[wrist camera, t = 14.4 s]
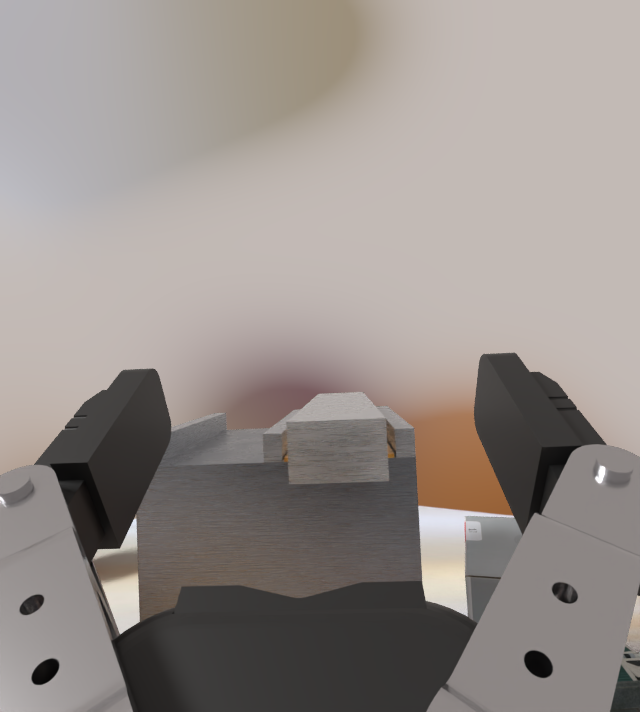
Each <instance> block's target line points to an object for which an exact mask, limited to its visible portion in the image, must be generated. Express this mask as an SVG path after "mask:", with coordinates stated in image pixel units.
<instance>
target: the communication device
mask: <svg viewBox="0 0 640 712" xmlns="http://www.w3.org/2000/svg"><path fill="white" fill-rule="evenodd" d="M610 712H640V652H638V653H636V652H635V651H634V650H632V649H631V648H630V647H628V646H627V645H625V649H624V653H623V658H622V662H621V666H620V671H619V675H618V679H617V684H616V688H615V692H614V696H613V701H612V705H611V709H610Z"/></svg>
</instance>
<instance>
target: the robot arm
mask: <svg viewBox="0 0 640 712" xmlns="http://www.w3.org/2000/svg"><path fill="white" fill-rule="evenodd" d="M474 419H475V426H476V430H477V433H478V435H479V438H480V440H481V442H482V445H483V447H484V449H485V451H486V454H487V456H488V458H489V461H490V463H491V465H492V467H493V469H494V472H495V474H496V476H497V478H498V481H499V483H500V485H501V488H502V490H503V492H504V494H505V497H506V499H507V501H508V503H509V506H510V508H511V511H512V513H513V515H514V517H515V520H516V522H517V524H518V526H519V529H520V531H521V533H522V538H521V539H520V541H519V543H518V545H517V547H516V549H515V551H514V553H513V555H512V557H511V559H510V561H509V563H508V565H507V567H506V569H505V571H504V573H503V575H502V577H501V579H500V581H499V583H498V585H497V587H496V589H495V591H494V593H493V595H492V597H491V598H490V600H489V602H488V604H487V606H486V608H485V610H484V612H483V614H482V616H481V618H480V620H479V622H478V623H477V622H475V621H474V620H472V619H470V618H469V617H467V616H465V615H463V614H461V613H459V612H457V611H455V610H453V609H450V608H448V607H445V606H442V605H439V604H436V603H432V602H428V601H425V596H424V590H423V585H422V581H395V582H361V583H357V584H353V585H350V586H346V587H342V588H338V589H335V590H331V591H327V592H323V593H320V594H316V595H312V596H308V597H304V598H294V597H289V596H285V595H280V594H276V593H272V592H267V591H263V590H258V589H254V588H250V587H245V586H241V585H227V586H185V587H181V590H180V594H179V597H178V600H177V604H176V607H175V608H171V609H168V610H165V611H163V612H160V613H157V614H155V615H153V616H151V617H149V618H147V619H145V620H143V621H141V622H139V623H137V624H136V625H134V626H132V627H131V628H129V629H128V630H126V631H125V632H123V633H122V634H121V635H120V633H119V631H118V628H117V625H116V623H115V620H114V617H113V614H112V612H111V609H110V606H109V603H108V601H107V598H106V595H105V592H104V590H103V587H102V584H101V581H100V579H99V576H98V573H97V570H96V568H95V565H94V563H93V561H92V559H93V557H94V556H95V554H96V552H97V550H98V549H119V548H120V547H121V545H122V543H123V541H124V539H125V536H126V534H127V532H128V530H129V528H130V526H131V524H132V522H133V519H134V517H135V515H136V513H137V511H138V509H139V507H140V505H141V502H142V500H143V498H144V496H145V494H146V492H147V490H148V488H149V485H150V483H151V481H152V479H153V477H154V475H155V473H156V471H157V468H158V466H159V464H160V462H161V460H162V458H163V456H164V454H165V451H166V449H167V447H168V445H169V442H170V438H171V421H170V416H169V412H168V408H167V405H166V401H165V397H164V393H163V389H162V385H161V382H160V378H159V375H158V373H157V371H156V370H155V369H135V370H123V371H121V373H120V374H119V375H118V377H117V378H116V379H115V380H114V381H113V383H112V384H111V385H110V387H109V388H108V389H107V390H102V391H101V392H99V393H98V394H96V395H95V396H93V397H92V398H90V399H89V400H87V401H86V402H85V403H84V404H83V405H82V406H81V408H80V409H79V410H78V411H77V412H76V414H75V415H74V418H72V419H71V420H70V421H69V422H68V423H67V425H66V426H65V430H62V431H61V432H60V433H59V435H58V436H57V437H56V438H55V439H54V441H53V442H52V443H51V444H50V446H49V447H48V448H47V449H46V450H45V452H44V453H43V454H42V455H41V457H40V458H39V459H38V460H37V462H36V463H35V464H34V465H29V466H24V467H20V468H17V469H14V470H11V471H9V472H7V473H4V474H2V475H0V712H610V709H611V705H612V701H613V696H614V692H615V688H616V684H617V679H618V675H619V671H620V666H621V662H622V658H623V653H624V649H625V645H626V641H627V636H628V632H629V628H630V623H631V619H632V615H633V611H634V606H635V602H636V598H637V595H638V596H640V457H639V456H637V455H635V454H633V453H631V452H629V451H626V450H624V449H621V448H617V447H614V446H608V445H606V443H605V442H604V441H603V440H602V438H601V437H600V436H599V435H598V433H597V432H596V431H595V430H594V428H593V427H592V426H591V425H590V423H589V422H588V421H587V420H586V419H585V417H584V416H583V415H582V413H581V412H580V411H579V410H577V408H576V406H575V405H574V404H573V402H572V401H571V400H570V399H568V396H567V395H566V393H565V392H564V391H563V390H562V388H561V387H560V386H559V385H558V383H556V382H555V381H553V380H551V379H550V378H548V377H547V376H545V375H543V374H542V373H540V372H529V370H528V369H527V368H526V366H525V365H524V364H523V362H522V361H521V359H520V358H519V357H518V356H517V354H516V353H501V354H499V353H498V354H483V355H482V356H481V358H480V362H479V369H478V378H477V388H476V397H475V407H474Z"/></svg>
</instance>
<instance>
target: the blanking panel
mask: <svg viewBox="0 0 640 712" xmlns="http://www.w3.org/2000/svg"><path fill="white" fill-rule="evenodd" d="M286 425H287V448H288V471H289V485H291V484H320V483H349V482H378V481H389V469H388V449H387V430H386V418H385V416H384V415H383V414H382V413H381V412H380V411H379V410H378V409H377V407H376V406H375V405H374V404H373V403H372V402H371V401H370V400H369V399H368V397H367V396H366V395H365V394H364V393H363V392H355V393H354V392H353V393H330V394H318V395H317V396H316V397H315V398H313V399H312V400H311V401H310V402H309V403H308V404H307V405H305V406H304V407H303V408H302V409H301V410H300V411H299V412H297V413H296V414H295V415H294V416H293V417H292V418H291V419H289V420H288V421H287V422H286Z"/></svg>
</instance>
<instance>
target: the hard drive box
mask: <svg viewBox="0 0 640 712" xmlns="http://www.w3.org/2000/svg"><path fill="white" fill-rule="evenodd" d="M521 538H522V533H521V531H520V529H519V526H518V524H517V522H516V520H515V518H506V517H478V516H465V580H466V594H467V608H468V617H469V618H470V619H472V620H474V621H475V622H477V623H478V622H479V620H480V618H481V616H482V614H483V612H484V610H485V608H486V606H487V604H488V602H489V600H490V598H491V597H492V595H493V593H494V591H495V589H496V587H497V585H498V583H499V581H500V579H501V577H502V575H503V573H504V571H505V569H506V567H507V565H508V563H509V561H510V559H511V557H512V555H513V553H514V551H515V549H516V547H517V545H518V543H519V541H520V539H521Z"/></svg>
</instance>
